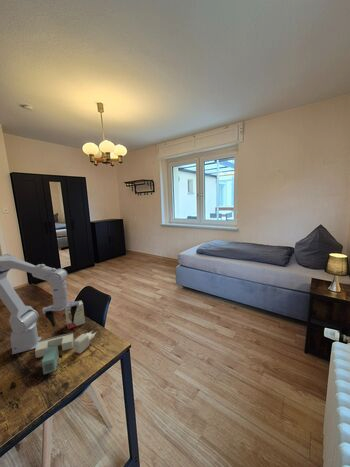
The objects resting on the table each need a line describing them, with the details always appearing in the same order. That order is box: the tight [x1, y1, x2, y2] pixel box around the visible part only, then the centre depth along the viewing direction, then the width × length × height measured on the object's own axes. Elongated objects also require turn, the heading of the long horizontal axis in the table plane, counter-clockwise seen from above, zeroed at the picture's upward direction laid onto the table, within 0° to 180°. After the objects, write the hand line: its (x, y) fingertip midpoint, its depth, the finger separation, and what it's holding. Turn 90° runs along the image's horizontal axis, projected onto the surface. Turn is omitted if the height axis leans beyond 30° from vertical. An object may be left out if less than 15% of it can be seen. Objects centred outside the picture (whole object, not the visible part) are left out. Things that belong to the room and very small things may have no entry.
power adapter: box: [73, 330, 98, 355], centre depth 91 cm, size 11×5×6 cm, turn 159°
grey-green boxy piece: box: [41, 346, 60, 375], centre depth 80 cm, size 4×8×6 cm, turn 22°
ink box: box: [64, 300, 86, 330], centre depth 106 cm, size 9×5×12 cm, turn 125°
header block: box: [34, 332, 75, 359], centre depth 89 cm, size 14×6×4 cm, turn 112°
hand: (63, 323), depth 91 cm, fingers open, 7 cm apart
